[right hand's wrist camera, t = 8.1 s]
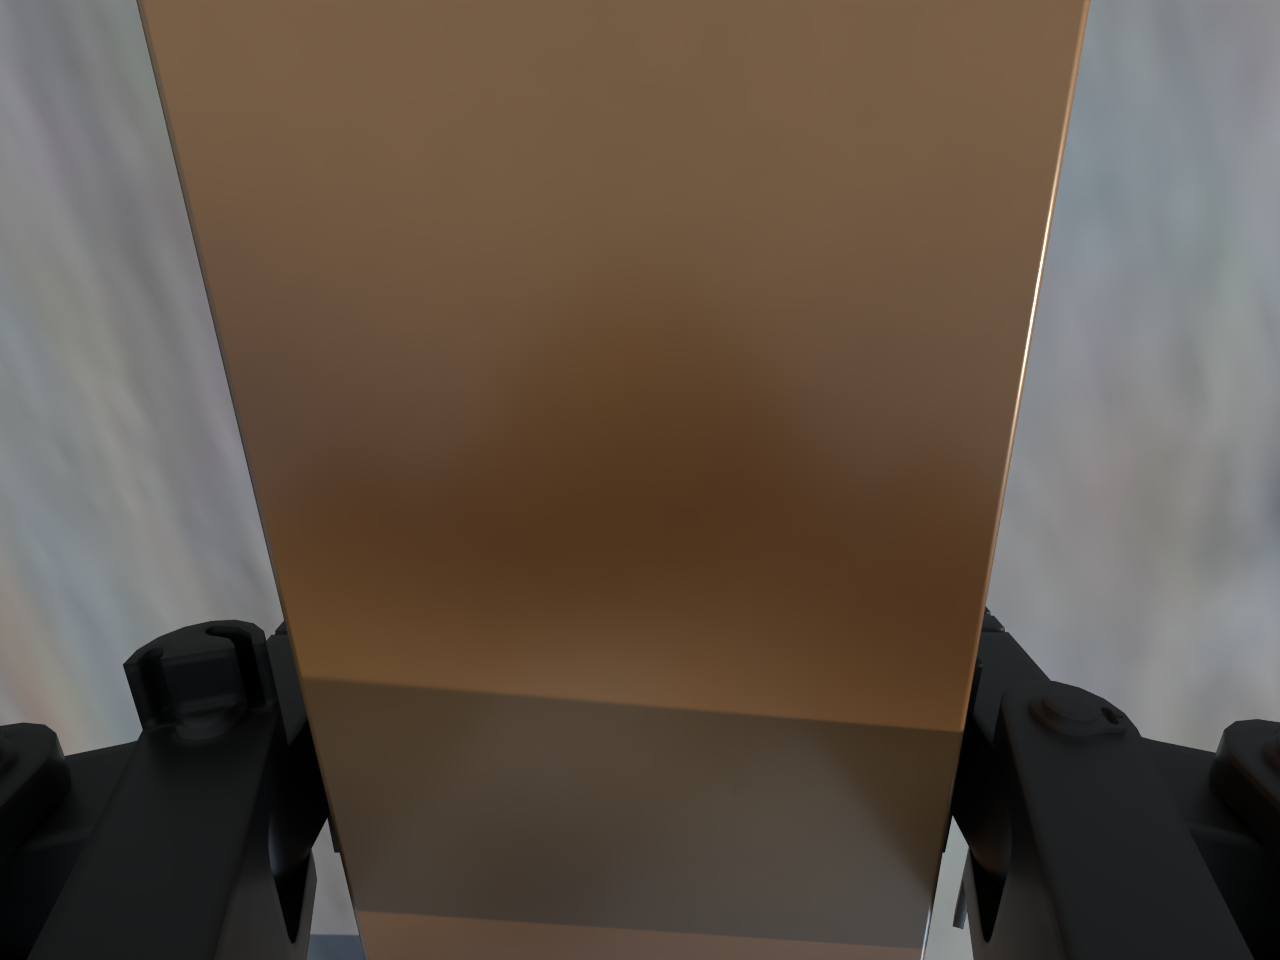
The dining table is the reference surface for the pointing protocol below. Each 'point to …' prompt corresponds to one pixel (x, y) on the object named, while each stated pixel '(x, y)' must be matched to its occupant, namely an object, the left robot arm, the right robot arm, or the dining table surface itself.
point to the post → (627, 438)
